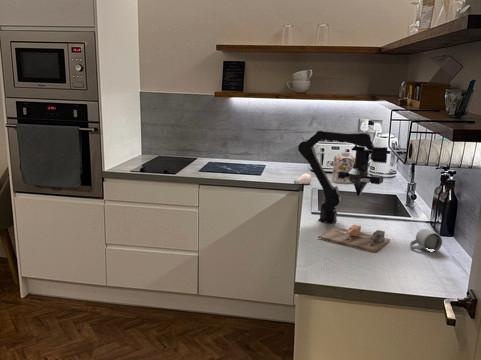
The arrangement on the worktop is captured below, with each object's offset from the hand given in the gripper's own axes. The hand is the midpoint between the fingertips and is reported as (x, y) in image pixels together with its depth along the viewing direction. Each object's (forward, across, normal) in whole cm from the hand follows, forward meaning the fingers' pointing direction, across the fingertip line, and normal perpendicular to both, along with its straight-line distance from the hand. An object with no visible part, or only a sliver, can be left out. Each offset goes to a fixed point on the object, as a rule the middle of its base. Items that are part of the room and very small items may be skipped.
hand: (358, 196), depth 211 cm
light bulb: (+13, -54, +52) cm, 77 cm away
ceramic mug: (+13, +32, -12) cm, 37 cm away
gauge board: (+13, +7, -20) cm, 25 cm away
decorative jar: (+13, -39, +76) cm, 86 cm away
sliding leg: (+12, +6, -20) cm, 23 cm away
